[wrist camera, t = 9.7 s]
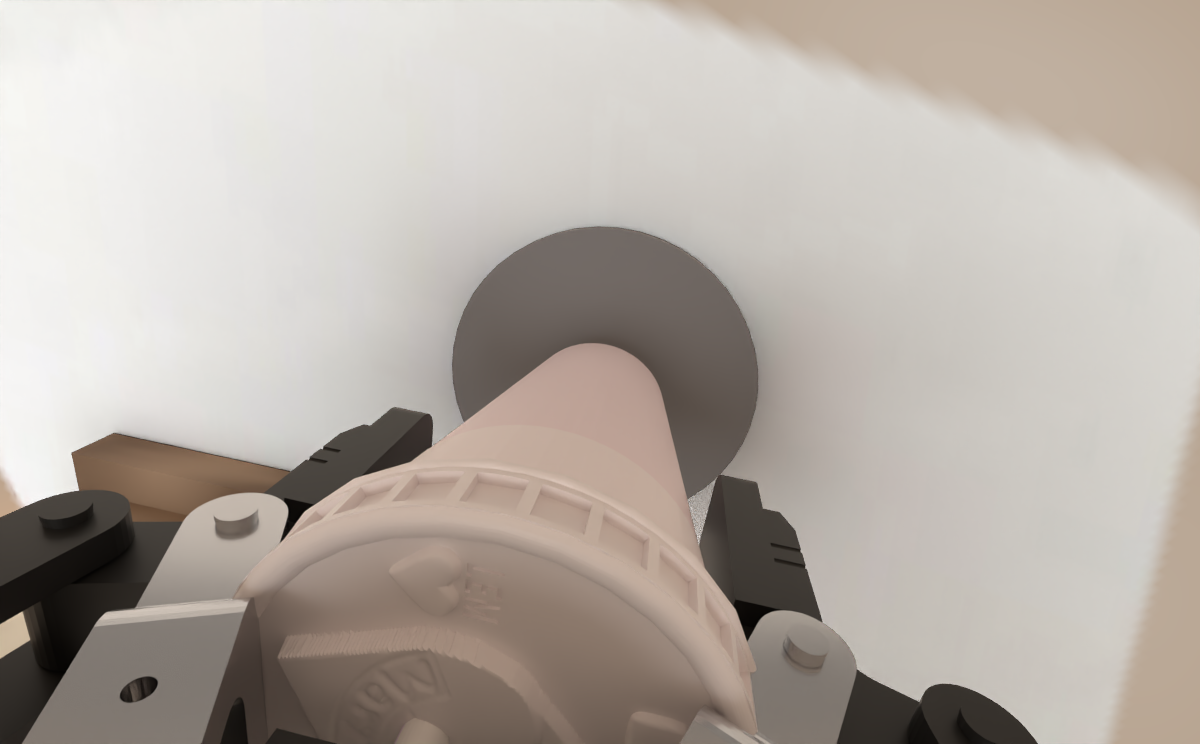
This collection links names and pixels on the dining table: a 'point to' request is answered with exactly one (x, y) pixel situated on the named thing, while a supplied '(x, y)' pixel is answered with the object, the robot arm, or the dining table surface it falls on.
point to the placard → (154, 488)
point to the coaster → (618, 333)
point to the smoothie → (508, 583)
